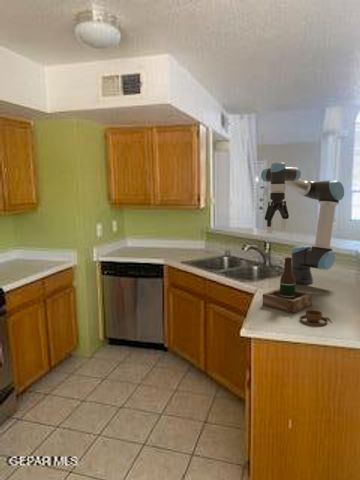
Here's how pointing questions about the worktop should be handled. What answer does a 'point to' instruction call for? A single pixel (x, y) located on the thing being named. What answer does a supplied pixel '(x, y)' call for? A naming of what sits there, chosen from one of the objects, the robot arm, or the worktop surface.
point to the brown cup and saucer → (311, 317)
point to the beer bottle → (287, 281)
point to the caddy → (279, 303)
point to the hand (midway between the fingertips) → (276, 231)
